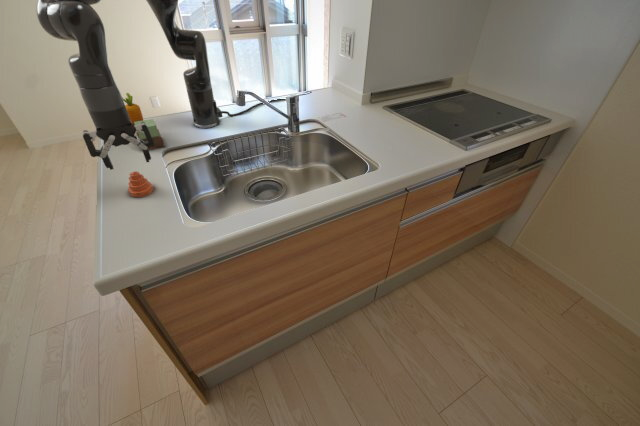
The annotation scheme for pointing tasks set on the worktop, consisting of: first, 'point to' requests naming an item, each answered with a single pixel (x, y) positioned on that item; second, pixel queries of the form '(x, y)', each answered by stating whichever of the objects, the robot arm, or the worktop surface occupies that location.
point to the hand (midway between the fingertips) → (130, 164)
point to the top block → (151, 128)
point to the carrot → (133, 110)
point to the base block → (155, 141)
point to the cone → (139, 185)
